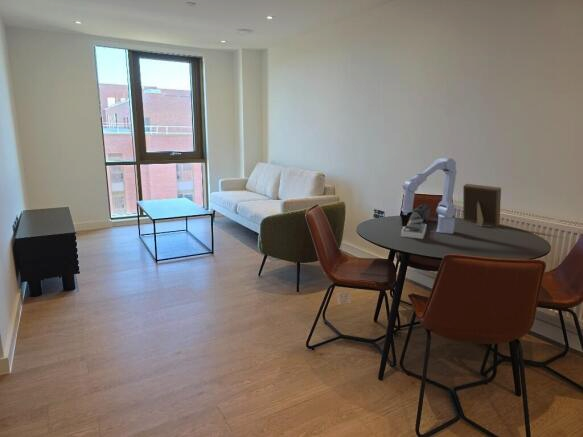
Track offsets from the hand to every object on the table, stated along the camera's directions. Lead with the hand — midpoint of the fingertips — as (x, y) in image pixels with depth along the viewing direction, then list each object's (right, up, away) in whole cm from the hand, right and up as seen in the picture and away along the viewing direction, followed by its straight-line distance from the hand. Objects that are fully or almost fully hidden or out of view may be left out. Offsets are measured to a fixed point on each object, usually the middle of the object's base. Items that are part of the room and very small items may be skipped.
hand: (405, 225), depth 228 cm
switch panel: (+7, -5, +5) cm, 10 cm away
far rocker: (+9, +1, +9) cm, 13 cm away
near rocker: (+5, -2, -1) cm, 5 cm away
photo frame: (+56, 0, +30) cm, 64 cm away
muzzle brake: (+18, +1, +31) cm, 35 cm away
